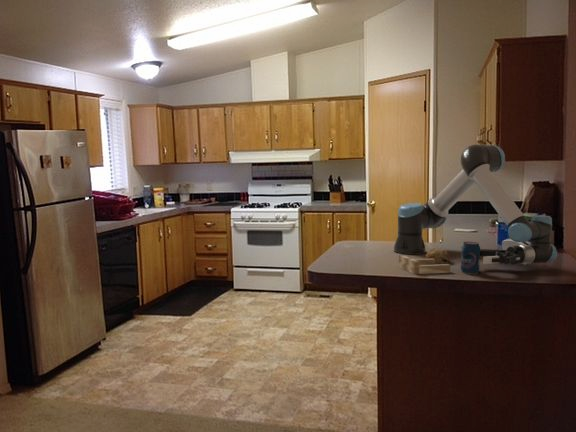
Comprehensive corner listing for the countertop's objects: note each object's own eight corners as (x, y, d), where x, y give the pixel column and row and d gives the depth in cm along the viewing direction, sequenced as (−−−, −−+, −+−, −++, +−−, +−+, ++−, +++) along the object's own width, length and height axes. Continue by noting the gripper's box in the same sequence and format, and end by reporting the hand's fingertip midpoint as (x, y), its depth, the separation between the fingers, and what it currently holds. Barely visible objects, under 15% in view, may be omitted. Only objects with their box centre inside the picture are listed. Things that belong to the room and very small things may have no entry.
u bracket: (398, 267, 209) (398, 255, 208) (432, 265, 212) (432, 253, 212) (414, 274, 195) (414, 261, 195) (450, 272, 199) (450, 260, 198)
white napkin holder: (538, 259, 225) (534, 239, 223) (530, 263, 224) (525, 243, 222) (511, 253, 241) (506, 234, 239) (503, 257, 240) (499, 238, 237)
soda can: (458, 273, 197) (459, 243, 196) (462, 270, 203) (463, 240, 202) (477, 275, 194) (478, 244, 193) (480, 272, 200) (482, 242, 198)
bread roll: (433, 272, 216) (439, 257, 212) (419, 258, 224) (424, 243, 220) (450, 270, 221) (456, 255, 217) (435, 256, 228) (441, 242, 225)
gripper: (541, 270, 191) (492, 273, 186) (499, 258, 215) (455, 260, 210) (542, 250, 190) (493, 253, 185) (500, 240, 214) (455, 242, 209)
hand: (472, 257), depth 197 cm, fingers open, 13 cm apart
